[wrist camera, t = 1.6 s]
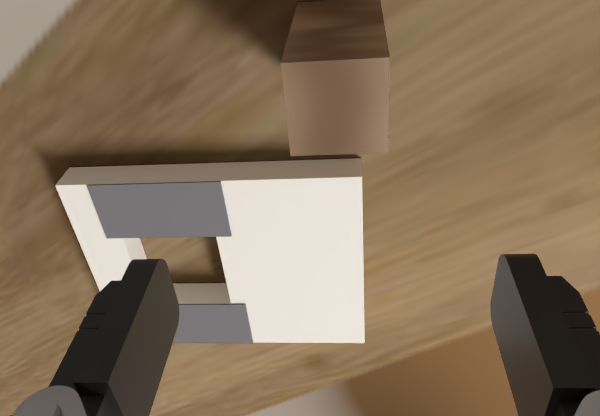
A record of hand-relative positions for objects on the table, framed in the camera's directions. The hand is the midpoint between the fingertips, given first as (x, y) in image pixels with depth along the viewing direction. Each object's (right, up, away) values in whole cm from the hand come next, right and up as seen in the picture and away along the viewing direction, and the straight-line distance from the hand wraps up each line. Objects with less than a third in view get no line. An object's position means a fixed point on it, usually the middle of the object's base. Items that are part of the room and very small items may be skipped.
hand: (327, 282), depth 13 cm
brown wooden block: (+1, +10, +14) cm, 18 cm away
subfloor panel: (-6, -1, +23) cm, 24 cm away
